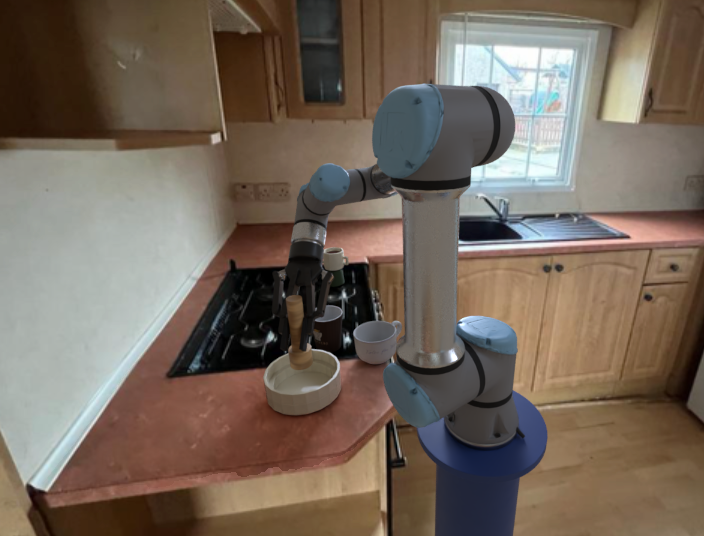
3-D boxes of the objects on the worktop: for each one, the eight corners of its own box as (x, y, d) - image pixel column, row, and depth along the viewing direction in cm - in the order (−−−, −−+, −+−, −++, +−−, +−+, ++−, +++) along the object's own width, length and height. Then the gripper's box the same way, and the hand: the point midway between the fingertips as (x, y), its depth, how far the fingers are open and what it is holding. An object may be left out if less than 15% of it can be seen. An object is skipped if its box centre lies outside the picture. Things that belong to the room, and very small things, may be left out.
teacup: (366, 375, 98) (365, 346, 95) (347, 353, 106) (345, 326, 104) (415, 356, 105) (415, 329, 102) (394, 337, 114) (393, 312, 111)
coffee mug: (350, 349, 108) (347, 315, 105) (318, 359, 104) (315, 325, 101) (333, 329, 118) (331, 298, 114) (304, 338, 113) (300, 306, 110)
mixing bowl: (355, 381, 96) (354, 360, 94) (309, 428, 82) (306, 404, 80) (301, 363, 103) (299, 342, 100) (251, 403, 89) (246, 380, 87)
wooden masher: (317, 360, 91) (310, 295, 85) (302, 372, 87) (294, 305, 81) (300, 355, 93) (293, 291, 87) (285, 366, 89) (276, 300, 83)
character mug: (353, 282, 148) (351, 248, 144) (346, 290, 142) (343, 255, 137) (325, 279, 151) (322, 246, 146) (317, 287, 144) (313, 252, 140)
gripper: (345, 253, 97) (336, 354, 87) (277, 253, 97) (260, 352, 88) (340, 239, 90) (328, 346, 80) (266, 239, 90) (246, 345, 81)
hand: (293, 349), depth 84 cm, fingers closed on wooden masher, 3 cm apart
